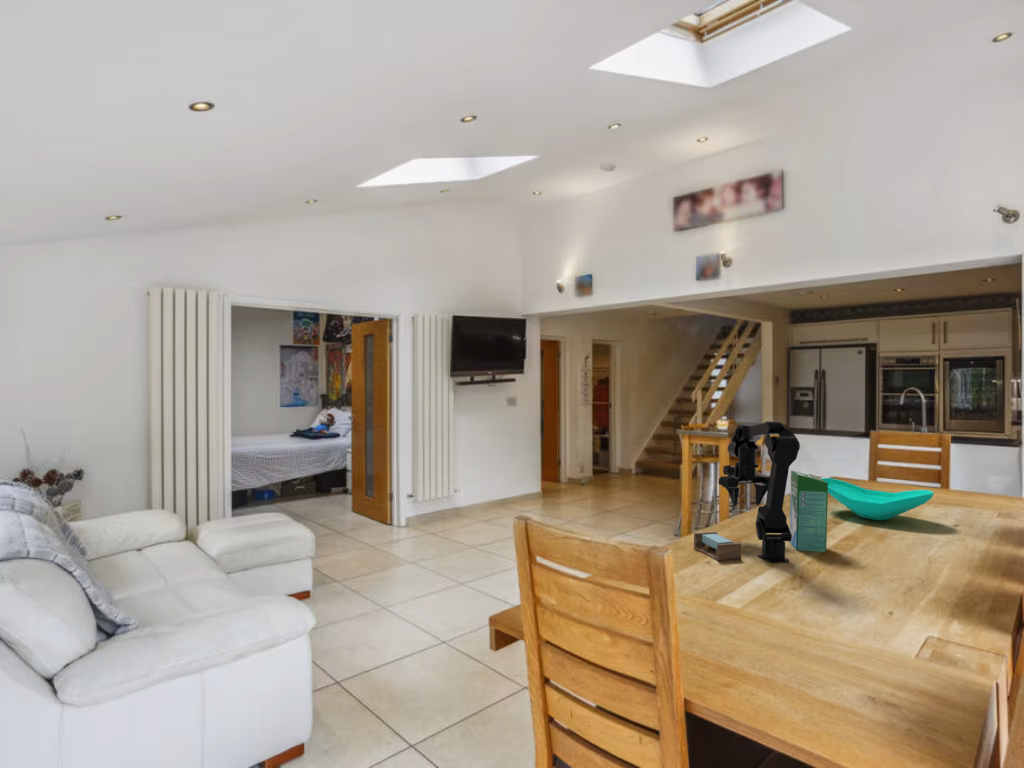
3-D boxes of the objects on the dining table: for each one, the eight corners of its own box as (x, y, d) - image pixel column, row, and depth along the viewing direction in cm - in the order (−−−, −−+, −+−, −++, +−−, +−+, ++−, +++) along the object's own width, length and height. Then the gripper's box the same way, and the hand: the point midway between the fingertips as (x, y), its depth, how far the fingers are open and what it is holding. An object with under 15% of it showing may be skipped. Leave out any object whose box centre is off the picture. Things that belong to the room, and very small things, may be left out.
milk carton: (826, 552, 188) (828, 475, 188) (796, 550, 190) (798, 474, 190) (817, 544, 197) (819, 471, 197) (789, 542, 199) (790, 469, 198)
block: (702, 542, 189) (702, 534, 189) (715, 541, 191) (715, 533, 191) (718, 550, 181) (719, 542, 181) (732, 549, 182) (732, 541, 182)
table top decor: (937, 520, 231) (938, 487, 231) (927, 534, 210) (928, 498, 210) (827, 504, 258) (828, 474, 257) (809, 515, 237) (810, 483, 237)
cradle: (741, 559, 180) (741, 543, 180) (718, 561, 178) (719, 545, 178) (715, 546, 193) (715, 531, 193) (693, 548, 191) (694, 533, 191)
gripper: (754, 456, 211) (753, 499, 211) (709, 458, 206) (708, 501, 206) (776, 461, 200) (775, 506, 200) (729, 463, 195) (728, 509, 196)
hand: (746, 505), depth 201 cm, fingers open, 9 cm apart
